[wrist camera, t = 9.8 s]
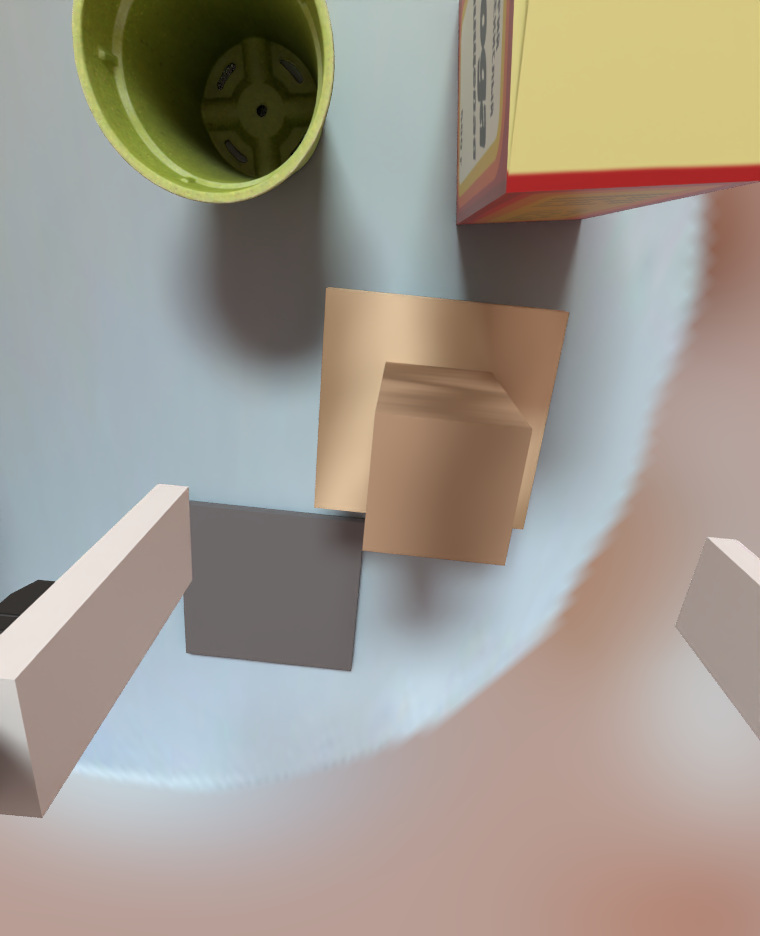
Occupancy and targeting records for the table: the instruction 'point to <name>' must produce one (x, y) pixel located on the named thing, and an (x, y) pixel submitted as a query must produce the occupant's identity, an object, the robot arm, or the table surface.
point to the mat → (273, 585)
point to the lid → (434, 419)
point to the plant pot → (207, 88)
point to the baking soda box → (603, 105)
